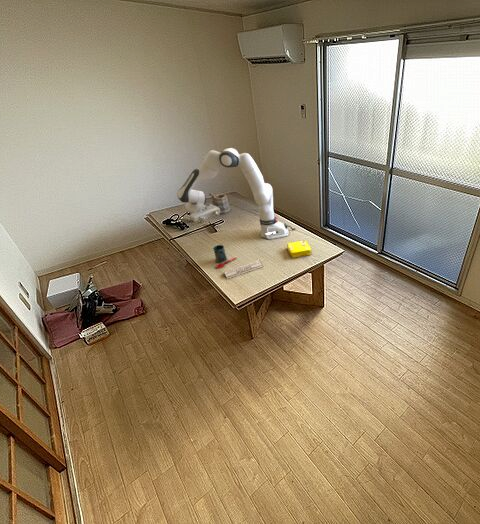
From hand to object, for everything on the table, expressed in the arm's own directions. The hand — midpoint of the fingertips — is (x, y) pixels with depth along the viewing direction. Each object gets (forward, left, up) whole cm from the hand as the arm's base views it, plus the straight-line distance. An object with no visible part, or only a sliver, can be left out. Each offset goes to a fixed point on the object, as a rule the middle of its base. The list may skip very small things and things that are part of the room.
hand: (211, 216), depth 194 cm
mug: (-5, +18, -25) cm, 31 cm away
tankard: (+9, -72, -25) cm, 77 cm away
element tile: (-57, +16, -25) cm, 65 cm away
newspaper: (-19, +33, -25) cm, 45 cm away
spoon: (-8, +22, -25) cm, 34 cm away
